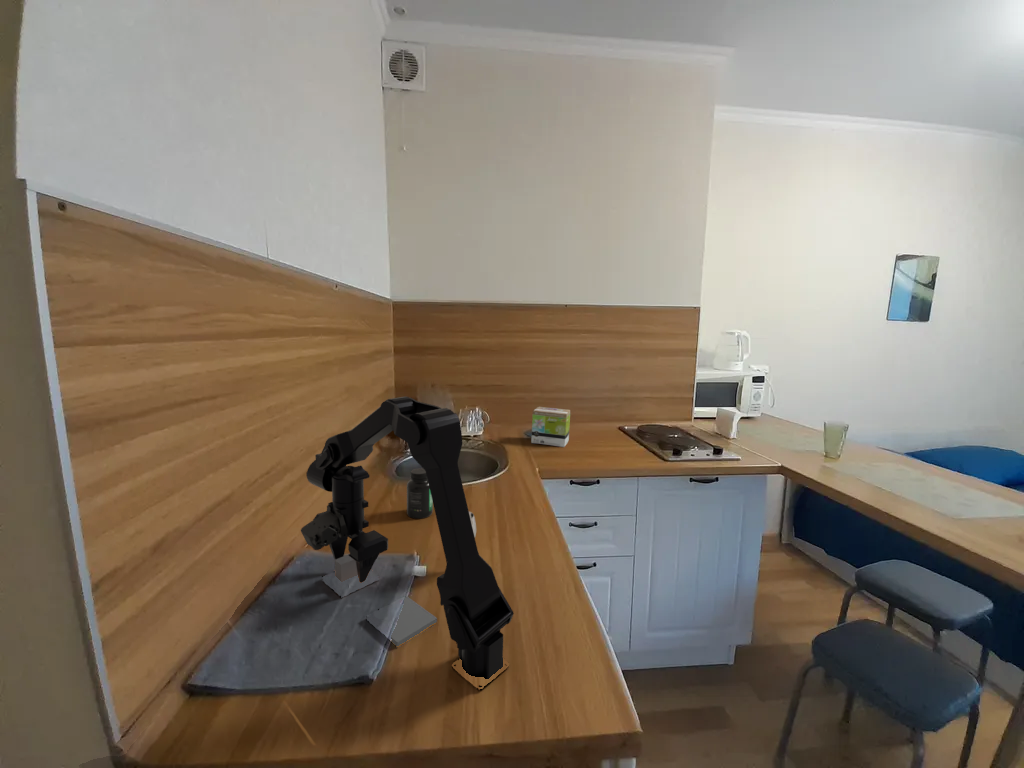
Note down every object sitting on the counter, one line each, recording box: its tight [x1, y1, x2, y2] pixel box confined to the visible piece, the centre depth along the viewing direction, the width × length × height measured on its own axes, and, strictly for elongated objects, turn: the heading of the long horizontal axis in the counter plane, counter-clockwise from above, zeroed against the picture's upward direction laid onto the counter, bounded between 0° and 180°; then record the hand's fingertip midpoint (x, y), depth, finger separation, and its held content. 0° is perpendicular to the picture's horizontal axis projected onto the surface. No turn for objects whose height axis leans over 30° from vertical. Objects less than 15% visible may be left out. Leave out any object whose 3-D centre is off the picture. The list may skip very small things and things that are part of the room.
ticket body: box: [391, 595, 438, 646], centre depth 76 cm, size 9×8×1 cm
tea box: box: [530, 406, 571, 448], centre depth 191 cm, size 15×10×15 cm
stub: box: [334, 553, 358, 582], centre depth 87 cm, size 8×8×5 cm
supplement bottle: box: [406, 467, 434, 520], centre depth 118 cm, size 7×7×12 cm
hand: (350, 572), depth 87 cm, fingers open, 9 cm apart
